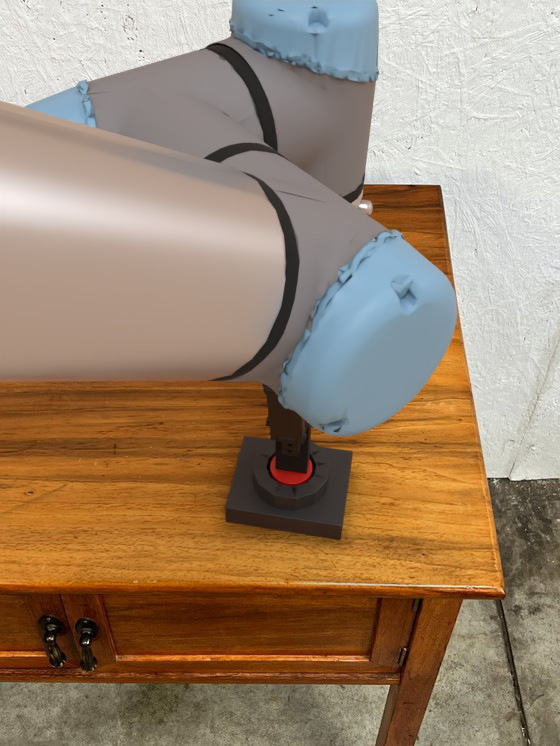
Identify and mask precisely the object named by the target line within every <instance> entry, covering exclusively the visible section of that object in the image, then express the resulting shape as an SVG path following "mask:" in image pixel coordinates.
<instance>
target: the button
mask: <svg viewBox="0 0 560 746" xmlns="http://www.w3.org/2000/svg"><path fill="white" fill-rule="evenodd" d="M270 477H271V478H272V479H273V480H275V481H276V482H278V483H279V484H280V485H286V486H293V487H295V486H298V485H301V484H305V483H307V482H308V481H309V480H310V479H311V478H312V463H311V460H310V459H309V465H308V470H307V474H306V473H300V472H293V471H286V470H279V469H275V457H274V458H273V459H272V461H271V465H270Z"/></svg>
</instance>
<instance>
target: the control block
mask: <svg viewBox="0 0 560 746" xmlns="http://www.w3.org/2000/svg"><path fill="white" fill-rule="evenodd" d="M275 450H276V441H275V440H271V438H264V437H258V436H250V435H244V436H243V439H242V443H241V446H240V450H239V454H238V457H237V461H236V465H235V468H234V473H233V476H232V480H231V484H230V487H229V491H228V494H227V498H226V501H225V507H224V513H225V522H226V523H230V524H238V525H242V526H243V525H244V526H250V527H257V528H262V529H269V530H275V531H281V532H287V533H294V534H300V535H307V536H313V537H319V538H327V539H331V540H339V541H341V539H342V534H343V527H344V520H345V513H346V506H347V505H346V504H347V499H348V498H347V497H348V492H349V483H350V476H351V469H352V461H353V455H354V452H353V451H352V450H346V449H340V448H334V447H333V448H332V447H326V446H320V445H318V444H317V443H315V442H313V441H312V440H311V441H310V458H309V459H310V460H311V463H312V478H311V479H310V480H309V481H308V482H307V483H305V484H301V485H298V486H295V487H293V486H286V485H280V484H279V483H278V482H276V481H275V480H273V479H272V478H271V477H270V465H271V461H272V459H273V458H274V457H275Z"/></svg>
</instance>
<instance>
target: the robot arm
mask: <svg viewBox="0 0 560 746" xmlns="http://www.w3.org/2000/svg"><path fill="white" fill-rule="evenodd" d="M379 20H380V11H379V5H378V1H377V0H231V17H230V19H229V20H228V23H229V25H228V26H229V32H230V36H228V37H227V38H225V39H222V40H221V39H220V40H218V41H215V42H212V43H209V44H207V45H206V46H205V47H203V48H200V49H196V50H192V51H189V52H186V53H182V54H179V55H175V56H171V57H168V58H165V59H161V60H158V61H154V62H152V63H148V64H144V65H140V66H137V67H133V68H131V69H126V70H123V71H120V72H117V73H112V74H110V75H106V76H103V77H99V78H95V79H92V80H89V81H87V79H83V80H80V81H78V82H77V84H76V85H75V86H73V87H70V88H68V89H65V90H63V91H60V92H57V93H54V94H52V95H49V96H47V97H44V98H42V99H39V100H37V101H34V102H31V103H29V104H27V105H25V106H21V105H17V104H14V103H10V102H7V101H3V100H0V383H22V382H23V383H25V382H26V383H33V382H34V383H35V382H36V383H38V382H39V383H42V382H43V383H45V382H48V383H49V382H51V383H53V382H58V383H59V382H62V383H63V382H68V383H69V382H72V383H73V382H74V383H75V382H229V383H230V382H232V383H243V382H244V383H245V382H249V383H250V382H251V383H252V382H256V383H260V384H261V385H262V387H263V393H264V394H265V396H266V405H267V417H266V420H265V427H269V436H270V439H271V440H275V441H276V450H275V469H279V470H286V471H293V472H300V473H306V474H307V470H308V465H309V458H310V441H312V440H311V437H312V428H315V429H316V430H318V431H320V432H322V433H324V434H326V435H328V436H330V437H337V438H338V437H342V438H343V437H352V436H357V435H360V434H363V433H366V432H368V431H371V430H372V429H375V428H377V427H378V426H381V425H383V424H384V423H386V422H387V421H388V420H390V419H392V417H394V416H395V415H397V414H398V413H400V411H401V410H403V409H404V408H405V407H407V405H408V404H410V402H411V401H412V400H413V399H414V398H416V396H417V395H419V393H420V392H421V391H422V390H423V389H424V387H425V386H426V384H427V383H428V382H429V380H430V379H431V378H432V375H433V374H434V373H435V372H436V370H437V368H438V367H439V364H440V363H441V362H442V360H443V359H444V357H445V355H446V354H447V351H448V349H449V347H450V344H451V342H452V340H453V337H454V334H455V329H456V325H457V321H458V298H457V296H456V295H457V294H456V291H455V289H454V286H453V285H452V283H451V281H450V279H449V277H448V276H447V275H446V274H445V273H444V272H443V271H442V270H441V269H439V268H438V267H437V266H436V265H435V264H433V263H432V262H431V261H430V260H429V259H427V258H426V257H425V255H423V254H422V253H420V252H419V251H418V250H417V249H416V248H414V246H412V245H411V243H409V242H408V241H406V239H405V237H404V234H403V233H401V232H400V231H398V230H397V229H395V228H393V229H391V230H390V229H388V228H387V227H385V226H384V225H383V224H381V223H380V222H378V221H377V220H376V219H374V218H372V217H371V216H370V215H371V214H372V212H373V209H374V205H373V203H372V201H371V200H367V199H362V198H363V196H364V187H365V179H366V169H367V160H368V152H369V142H370V136H371V135H370V134H371V127H372V119H373V111H374V110H373V109H374V101H375V92H376V86H377V85H376V84H377V81H378V79H379V75H380V69H379V42H380V41H379V38H380V21H379Z"/></svg>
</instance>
